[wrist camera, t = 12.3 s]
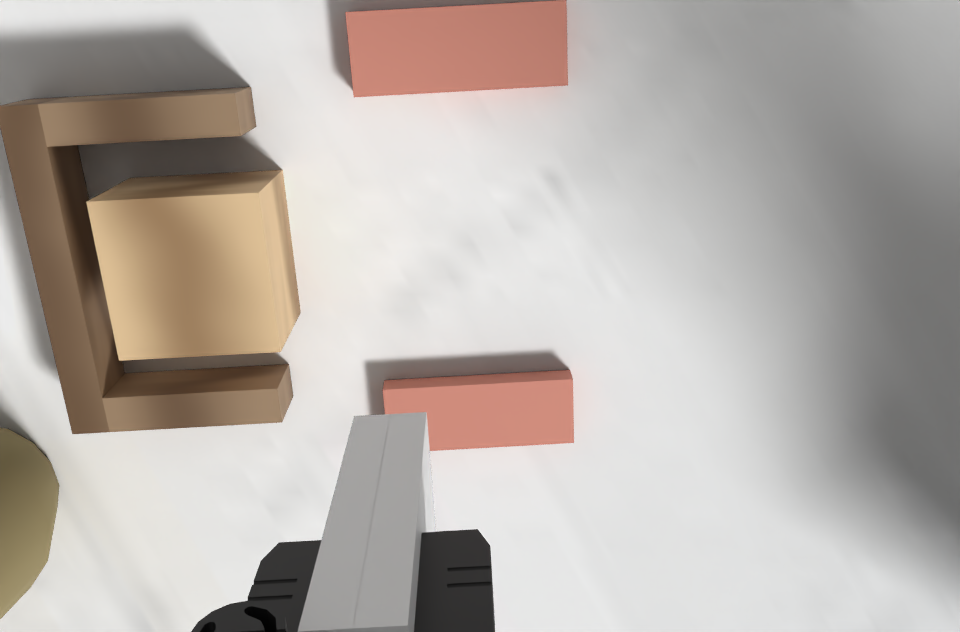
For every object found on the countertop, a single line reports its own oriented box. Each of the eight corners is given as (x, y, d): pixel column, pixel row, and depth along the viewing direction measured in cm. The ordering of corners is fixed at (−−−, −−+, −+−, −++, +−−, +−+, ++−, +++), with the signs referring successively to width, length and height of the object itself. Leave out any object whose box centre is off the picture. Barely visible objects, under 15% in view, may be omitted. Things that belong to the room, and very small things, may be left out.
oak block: (283, 169, 35) (258, 192, 30) (300, 311, 37) (280, 352, 32) (132, 176, 34) (85, 201, 30) (158, 319, 37) (119, 360, 32)
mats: (563, 0, 32) (566, -1, 31) (571, 431, 39) (573, 442, 38) (348, 11, 32) (345, 12, 31) (390, 442, 39) (388, 453, 38)
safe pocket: (250, 87, 33) (234, 93, 31) (293, 395, 38) (282, 422, 35) (28, 99, 33) (-5, 106, 31) (96, 407, 38) (72, 434, 35)
